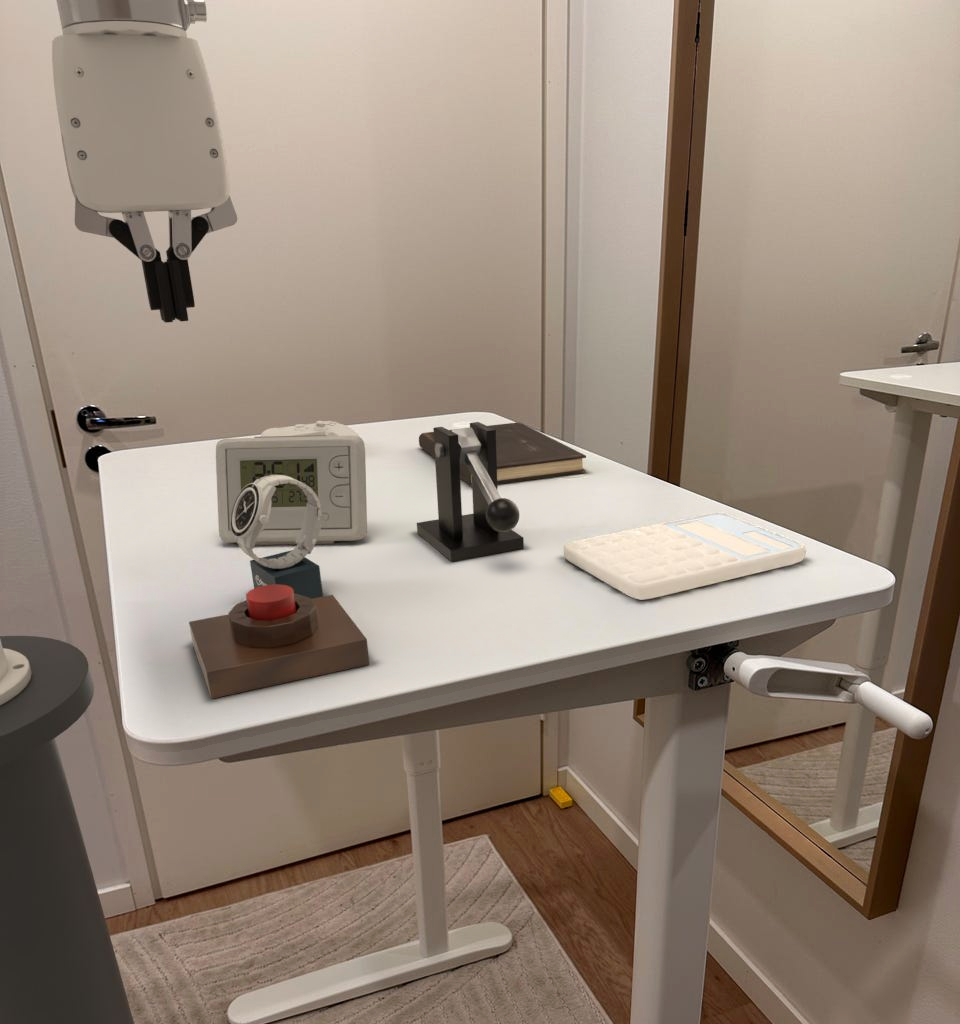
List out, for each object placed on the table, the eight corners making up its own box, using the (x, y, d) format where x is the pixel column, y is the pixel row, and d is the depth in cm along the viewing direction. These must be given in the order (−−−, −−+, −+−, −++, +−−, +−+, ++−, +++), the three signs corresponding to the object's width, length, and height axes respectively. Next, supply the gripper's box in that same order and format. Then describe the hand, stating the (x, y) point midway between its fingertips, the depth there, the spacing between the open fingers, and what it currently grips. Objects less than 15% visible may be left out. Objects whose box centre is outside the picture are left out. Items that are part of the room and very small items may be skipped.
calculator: (558, 558, 89) (558, 540, 89) (719, 524, 97) (720, 507, 96) (637, 604, 79) (637, 584, 78) (810, 561, 86) (813, 542, 85)
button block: (211, 699, 66) (202, 649, 64) (193, 645, 74) (184, 601, 72) (369, 664, 70) (364, 617, 68) (335, 617, 78) (330, 574, 77)
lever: (521, 536, 87) (527, 512, 84) (490, 541, 86) (496, 517, 83) (472, 447, 94) (476, 423, 91) (443, 451, 92) (447, 426, 90)
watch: (234, 597, 83) (215, 480, 79) (313, 576, 87) (300, 464, 83) (259, 616, 79) (240, 494, 74) (340, 593, 83) (328, 476, 79)
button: (254, 626, 68) (250, 605, 68) (245, 609, 71) (242, 589, 71) (300, 617, 70) (298, 596, 69) (290, 601, 73) (287, 581, 72)
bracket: (523, 548, 93) (522, 433, 87) (451, 561, 90) (445, 443, 85) (484, 521, 101) (481, 415, 96) (417, 533, 98) (409, 424, 93)
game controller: (265, 448, 123) (247, 419, 130) (268, 477, 126) (250, 448, 133) (365, 434, 128) (343, 408, 136) (366, 462, 131) (344, 435, 138)
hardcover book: (520, 437, 138) (519, 422, 137) (585, 472, 118) (586, 455, 117) (419, 448, 133) (418, 433, 132) (470, 488, 113) (469, 470, 112)
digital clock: (212, 546, 97) (195, 447, 92) (251, 520, 104) (238, 428, 100) (353, 554, 93) (343, 451, 88) (383, 526, 100) (375, 431, 96)
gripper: (231, 30, 63) (267, 308, 71) (-5, 22, 58) (62, 323, 66) (251, 8, 57) (288, 316, 65) (-11, -3, 52) (64, 334, 60)
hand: (174, 319), depth 65 cm, fingers closed
